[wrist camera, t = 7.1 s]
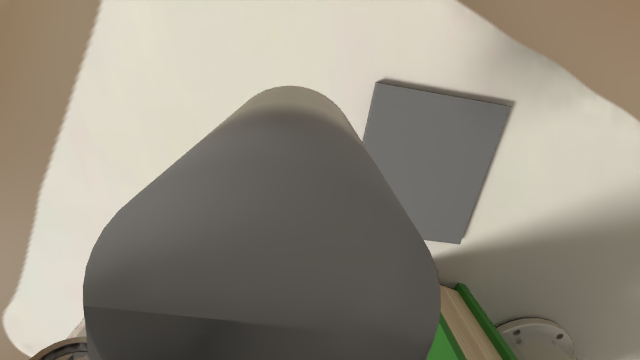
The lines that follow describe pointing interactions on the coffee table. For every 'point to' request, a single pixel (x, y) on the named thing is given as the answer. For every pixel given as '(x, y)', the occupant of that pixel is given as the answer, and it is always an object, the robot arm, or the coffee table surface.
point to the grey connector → (265, 250)
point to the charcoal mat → (433, 154)
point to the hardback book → (466, 330)
